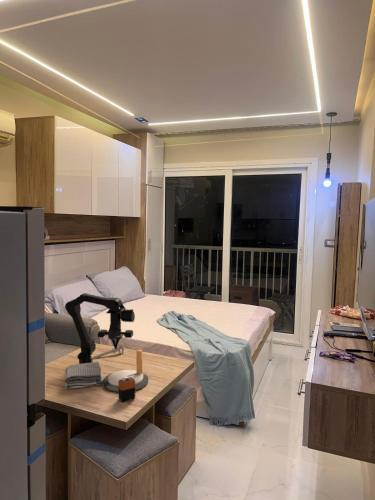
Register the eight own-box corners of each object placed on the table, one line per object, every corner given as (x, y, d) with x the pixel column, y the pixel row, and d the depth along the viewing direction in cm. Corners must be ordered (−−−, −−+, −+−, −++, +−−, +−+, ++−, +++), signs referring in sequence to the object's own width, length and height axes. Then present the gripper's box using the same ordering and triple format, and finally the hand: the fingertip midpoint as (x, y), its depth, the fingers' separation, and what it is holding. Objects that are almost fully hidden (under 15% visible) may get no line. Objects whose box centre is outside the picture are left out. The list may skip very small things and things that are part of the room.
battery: (118, 398, 168) (118, 378, 167) (131, 395, 172) (131, 374, 171) (121, 402, 165) (121, 381, 164) (135, 398, 168) (135, 378, 167)
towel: (65, 378, 190) (64, 364, 189) (100, 374, 196) (100, 360, 195) (65, 391, 176) (64, 376, 175) (103, 386, 181) (103, 371, 181)
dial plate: (97, 392, 174) (97, 388, 174) (109, 372, 197) (109, 369, 197) (144, 393, 173) (144, 390, 173) (151, 373, 196) (151, 370, 196)
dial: (117, 390, 172) (117, 363, 171) (102, 377, 187) (101, 352, 186) (150, 380, 184) (150, 355, 183) (133, 368, 198) (133, 345, 197)
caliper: (123, 353, 227) (123, 343, 226) (123, 353, 226) (123, 343, 225) (90, 359, 216) (90, 348, 216) (91, 359, 215) (91, 349, 215)
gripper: (94, 325, 191) (94, 353, 192) (129, 325, 190) (129, 354, 191) (100, 319, 202) (100, 346, 203) (133, 319, 201) (133, 347, 202)
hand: (115, 348), depth 200 cm, fingers closed
